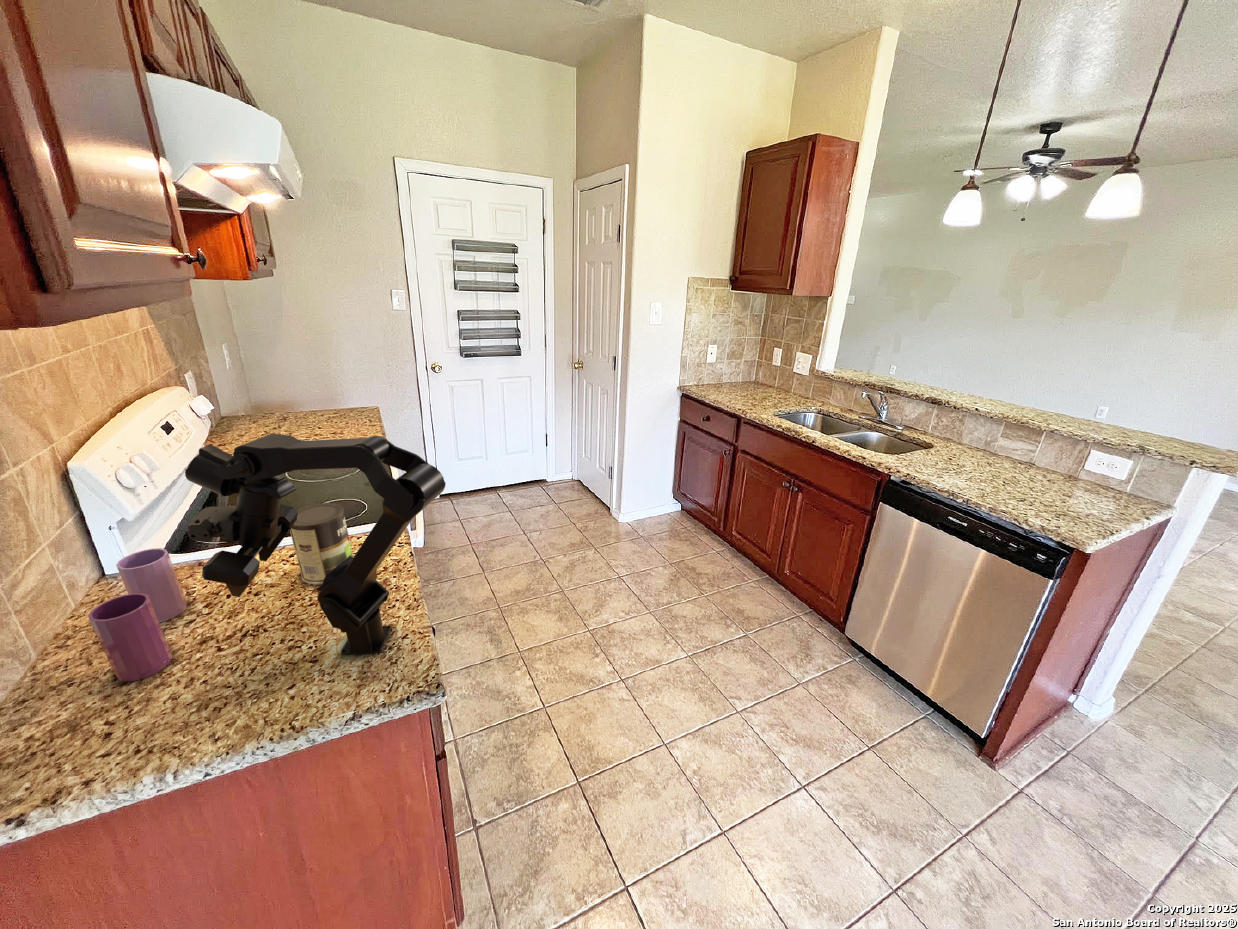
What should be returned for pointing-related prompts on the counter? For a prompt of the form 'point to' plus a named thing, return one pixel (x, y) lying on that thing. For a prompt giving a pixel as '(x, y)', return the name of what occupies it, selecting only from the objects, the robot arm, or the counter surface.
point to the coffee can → (320, 540)
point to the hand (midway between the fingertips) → (250, 577)
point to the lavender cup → (154, 581)
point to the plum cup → (131, 636)
